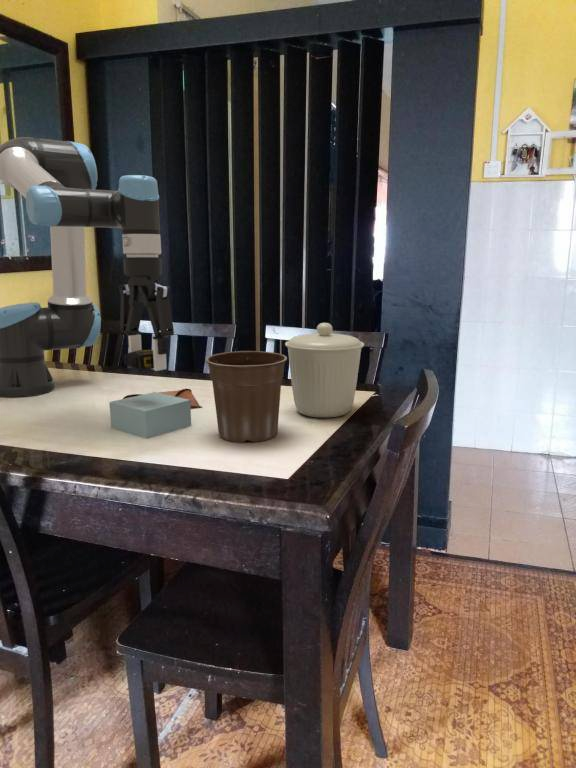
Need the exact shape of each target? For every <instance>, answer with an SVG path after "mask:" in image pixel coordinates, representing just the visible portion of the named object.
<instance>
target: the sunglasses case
mask: <svg viewBox="0 0 576 768" xmlns="http://www.w3.org/2000/svg"><path fill="white" fill-rule="evenodd" d="M157 393H161V394H166V395H170V396H175V397H179V398H184V399H188V400H190V404H191V410H193V409H200V408H203V406H202V405H200V404H199V402H198V400H197V399H196V397H195V396H194V394H193V392H192V389H190V388H182V389H177V390H171V391H169V390H168V391H160V392H157ZM144 394H145V393H143V394H142V393H134V394H133V393H132V394H128V395H125V396H124V397H123V398H122V399H125V398H130V397H135V396H139V395H144Z"/></svg>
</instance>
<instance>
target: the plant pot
mask: <svg viewBox="0 0 576 768" xmlns="http://www.w3.org/2000/svg"><path fill="white" fill-rule="evenodd" d="M287 361H288V357H287V356H286V355H285V354H281V353H278V352H270V351H262V350H261V351H257V350H238V351H228V352H220V353H215V354H212V355H209V356H207V357H206V358H205V362H206V364H207V365H208V371H209V377H210V380H211V382H212V389H213V396H214V406H215V413H216V414H215V415H216V421H217V422H216V423H217V431H218V435H219V437H220V438H222V439H224V440H226V441H229V442H236V443H245V442H246V441H251V442H252V443H257V442H265V441H267V440H270V439H272V438H274V437H276V436H277V434H278V431H279V430H278V429H279V417H280V416H279V414H280V402H281V401H280V400H281V393H282V392H281V391H282V390H281V389H282V380H283V378H284V374H285V373H284V372H285V363H286V362H287Z"/></svg>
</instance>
